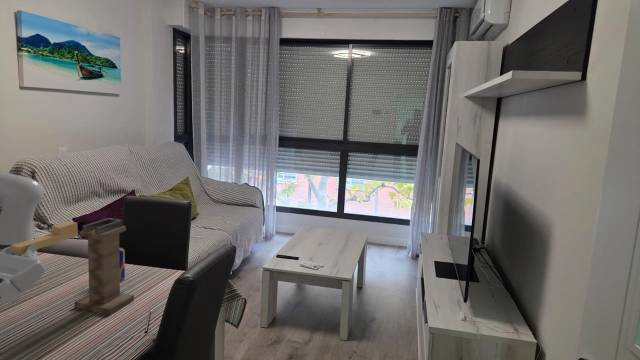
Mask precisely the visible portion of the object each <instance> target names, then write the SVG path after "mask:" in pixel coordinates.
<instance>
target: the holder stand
mask: <svg viewBox="0 0 640 360" xmlns="http://www.w3.org/2000/svg"><path fill="white" fill-rule="evenodd" d="M126 231H127V227H126V225H124V219H117V218H111V217H107V218H104V219H101V220H98V221H94V222H91V223H87V224H85V225H82V230H81V231H79V235H80V237H83V238H87V252H88V253H87V254H88V255H87V257H88V259H87V260H88V263H87V264H88V294H86V295H85V296H83V297H81V298H79V299H77V300H76V301H74V308H76V309H79V310H80V309H81V310H84V311H89V312H93V313H94V312H95V313H99V314H103V315H106V316H107V315H108V316H112V315H113V314H115V313H116V312H118V311H120V310H122V309H123V308H124V307H126V306H128V305H129V304H131V303H132V302H134V301H135V295H134V294H129V293H124V292H121V290H120V289H121V285H120V284H121V283H120V282H121V281H120V261H119V248H120V233H123V232H126Z"/></svg>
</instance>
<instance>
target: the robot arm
mask: <svg viewBox="0 0 640 360" xmlns="http://www.w3.org/2000/svg"><path fill="white" fill-rule="evenodd" d="M44 195H45V191H44V188H43V186H42V184H40V183H39V182H37V181H36V180H35V179H33V178H31V177H28V176H22V175H18V174H14V173H8V172H0V207H1V206H2V207H1V211H0V304H7V303H15V302H17V301H18V300H19V299H21V297H22V294H21V293H23V292H26V291H27V290H28V289H30V288H31V287H32V286H33V285H34V284H35V283H36V282H37V281H38V280H39V279H40V278H41V277H42V276H43V275H44V274H45V271H46V267H45V265H44V264H43V262H42V261H41V260H39V258H38V251H37V250H38V249H37V247H36V245H33V244H29V245H28V246H27V247H26V248H25V249H26V253H24V254H22V255H19V254H14V253H11V245H15V244H18V243H21V242H24V241H28V240H31V239H34V238H35V237H34V216H35V211H36V208H37V205H38V204H40V202H41V201H42V200H43V199H44Z"/></svg>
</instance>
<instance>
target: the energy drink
mask: <svg viewBox="0 0 640 360" xmlns="http://www.w3.org/2000/svg"><path fill="white" fill-rule="evenodd" d="M125 257H126V256H125V249H124V248H123V247H119V261H120V282H123V281H124V280H125V278H126V276H125V275H126V272H125V271H126V267H125V264H126V262H125V261H126V260H125V259H126V258H125Z"/></svg>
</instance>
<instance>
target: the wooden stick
mask: <svg viewBox="0 0 640 360" xmlns="http://www.w3.org/2000/svg"><path fill="white" fill-rule="evenodd" d="M50 227H51V233H47V234H44V235H41V236H38V237H34V239H31V240H28V241H24V242H21V243H18V244H15V245H11V253H14V254H19V255H22V254H24V253H26V249H25V248H26V247H27V246H28V245H29V244H33V245H36V247H37V250H38V249H39V250H40V249H42V248H45V247H48V246H51V245H53V244H56V243H59V242H62V241H65V240H68V239H71V238H75V237H77V236H78V235H79V234H78V233H79V231H78V230H79V229H78V222H76V221H75V222H74V221H65V222H62V223H59V224H55V225H52V226H50Z"/></svg>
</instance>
